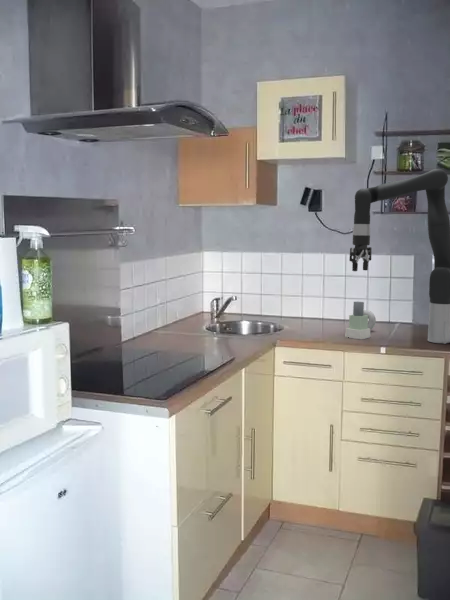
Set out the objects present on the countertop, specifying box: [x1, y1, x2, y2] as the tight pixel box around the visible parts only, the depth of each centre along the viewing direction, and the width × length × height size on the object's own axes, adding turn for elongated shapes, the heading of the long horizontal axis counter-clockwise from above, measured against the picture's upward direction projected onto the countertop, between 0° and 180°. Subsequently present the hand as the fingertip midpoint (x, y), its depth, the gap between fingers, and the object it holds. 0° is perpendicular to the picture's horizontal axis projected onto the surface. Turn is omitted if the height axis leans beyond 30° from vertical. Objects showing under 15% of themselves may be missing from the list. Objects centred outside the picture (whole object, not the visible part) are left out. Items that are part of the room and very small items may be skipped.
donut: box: [364, 309, 377, 330], centre depth 312 cm, size 10×4×10 cm, turn 46°
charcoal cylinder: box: [352, 301, 365, 316], centre depth 294 cm, size 5×5×6 cm
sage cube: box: [348, 314, 369, 330], centre depth 294 cm, size 6×6×6 cm
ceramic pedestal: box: [344, 327, 372, 340], centre depth 295 cm, size 8×8×4 cm
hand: (360, 270), depth 291 cm, fingers open, 8 cm apart
